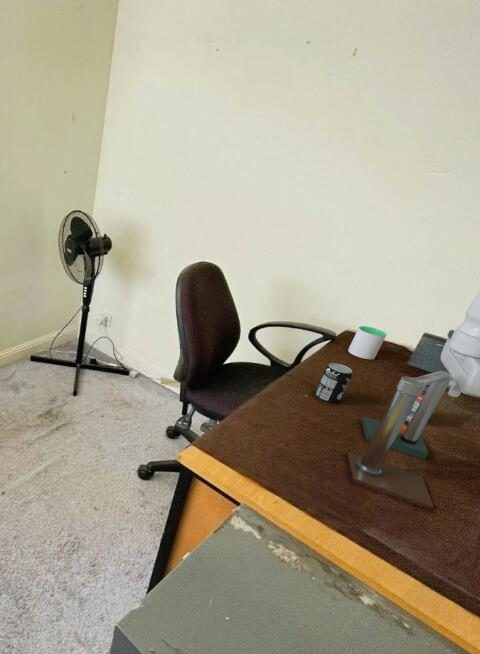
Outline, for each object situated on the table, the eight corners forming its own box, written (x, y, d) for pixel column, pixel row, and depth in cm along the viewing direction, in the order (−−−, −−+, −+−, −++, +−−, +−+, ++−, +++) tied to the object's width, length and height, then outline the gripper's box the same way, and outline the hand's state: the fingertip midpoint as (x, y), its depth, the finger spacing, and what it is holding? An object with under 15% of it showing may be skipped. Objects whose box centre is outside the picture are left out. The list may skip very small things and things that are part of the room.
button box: (416, 438, 118) (422, 427, 116) (425, 459, 110) (431, 447, 109) (361, 422, 124) (366, 411, 123) (366, 440, 117) (371, 429, 115)
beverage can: (336, 396, 136) (351, 366, 131) (340, 407, 131) (356, 375, 126) (312, 390, 139) (325, 360, 134) (315, 400, 134) (329, 369, 129)
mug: (354, 344, 169) (365, 322, 165) (380, 352, 163) (391, 330, 159) (345, 352, 163) (356, 329, 159) (371, 361, 157) (383, 337, 153)
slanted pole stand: (419, 481, 103) (469, 397, 93) (430, 511, 95) (487, 422, 85) (347, 457, 111) (386, 377, 101) (352, 482, 103) (395, 398, 92)
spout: (402, 434, 108) (439, 366, 99) (421, 444, 104) (461, 374, 96) (362, 447, 103) (397, 376, 95) (381, 458, 100) (419, 386, 91)
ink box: (425, 418, 126) (450, 379, 120) (414, 425, 123) (438, 385, 117) (410, 411, 129) (432, 372, 123) (398, 418, 126) (421, 378, 120)
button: (404, 428, 116) (406, 424, 115) (406, 435, 113) (409, 430, 113) (386, 423, 118) (389, 419, 117) (389, 430, 115) (391, 425, 115)
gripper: (517, 368, 88) (484, 420, 93) (483, 333, 103) (457, 379, 108) (474, 359, 91) (444, 409, 96) (447, 327, 106) (423, 372, 112)
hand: (451, 393), depth 102 cm, fingers closed
